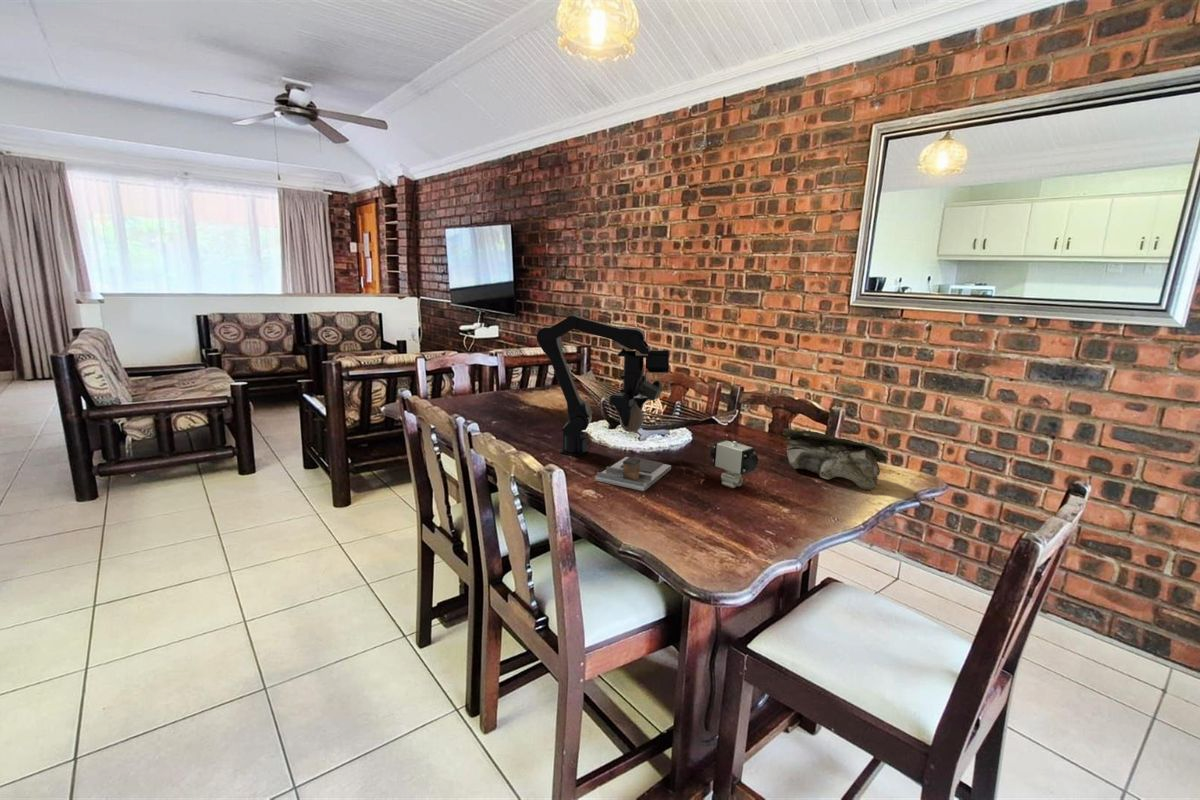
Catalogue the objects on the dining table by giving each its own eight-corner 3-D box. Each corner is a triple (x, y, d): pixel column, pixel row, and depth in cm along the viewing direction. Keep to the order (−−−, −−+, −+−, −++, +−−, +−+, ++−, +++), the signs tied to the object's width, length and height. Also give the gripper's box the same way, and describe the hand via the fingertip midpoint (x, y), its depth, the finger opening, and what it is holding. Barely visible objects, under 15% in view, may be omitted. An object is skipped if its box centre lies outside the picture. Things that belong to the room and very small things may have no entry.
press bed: (595, 480, 142) (595, 472, 141) (626, 460, 158) (626, 453, 158) (643, 491, 136) (644, 483, 135) (671, 469, 152) (671, 462, 151)
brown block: (622, 480, 139) (623, 461, 138) (628, 475, 142) (629, 457, 141) (633, 482, 138) (634, 463, 137) (639, 478, 141) (640, 459, 140)
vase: (643, 433, 157) (644, 404, 156) (619, 433, 158) (620, 403, 156) (641, 427, 164) (643, 399, 162) (619, 426, 164) (620, 398, 162)
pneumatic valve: (745, 494, 136) (749, 448, 133) (707, 481, 144) (710, 437, 141) (757, 489, 139) (761, 444, 137) (719, 476, 148) (723, 434, 145)
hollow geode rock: (777, 479, 160) (762, 451, 151) (793, 444, 165) (780, 415, 156) (878, 504, 141) (869, 474, 132) (893, 464, 146) (885, 432, 137)
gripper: (645, 379, 145) (643, 435, 149) (670, 370, 161) (668, 420, 165) (609, 375, 150) (607, 429, 154) (636, 366, 167) (634, 415, 170)
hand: (631, 423), depth 160 cm, fingers closed on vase, 7 cm apart
